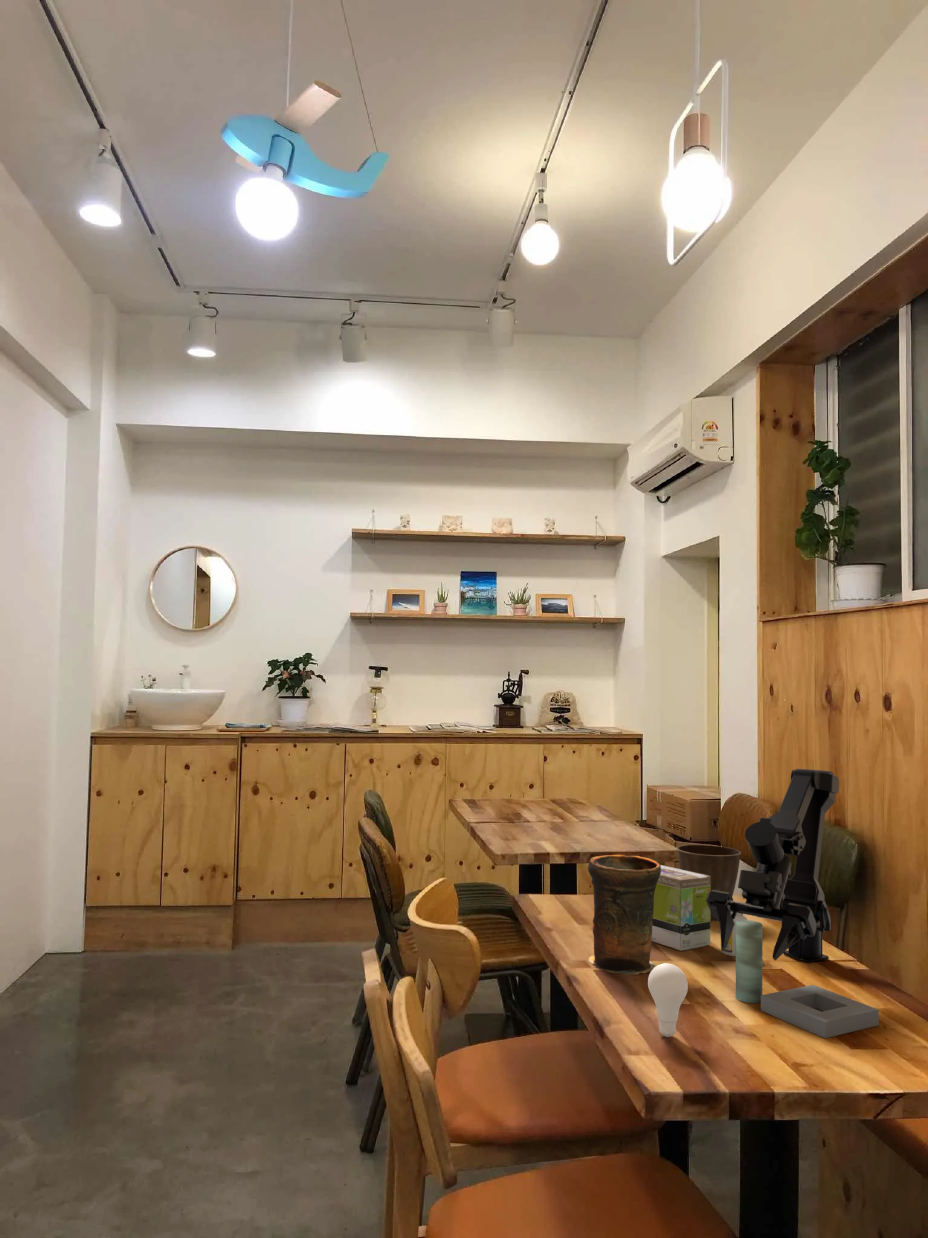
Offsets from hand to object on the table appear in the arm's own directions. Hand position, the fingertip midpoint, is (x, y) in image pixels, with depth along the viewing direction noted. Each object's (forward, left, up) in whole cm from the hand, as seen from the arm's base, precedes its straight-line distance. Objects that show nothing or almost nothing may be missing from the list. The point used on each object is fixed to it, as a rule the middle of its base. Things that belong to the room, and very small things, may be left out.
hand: (747, 953), depth 154 cm
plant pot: (-35, -45, -8) cm, 57 cm away
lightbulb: (+24, +7, -8) cm, 27 cm away
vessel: (+7, -25, -8) cm, 28 cm away
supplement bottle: (-19, -21, -8) cm, 29 cm away
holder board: (-5, +11, -8) cm, 15 cm away
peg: (-1, 0, -8) cm, 8 cm away
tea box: (-13, -34, -8) cm, 37 cm away
